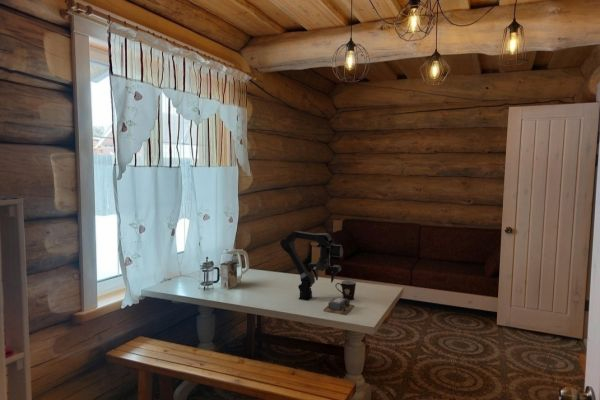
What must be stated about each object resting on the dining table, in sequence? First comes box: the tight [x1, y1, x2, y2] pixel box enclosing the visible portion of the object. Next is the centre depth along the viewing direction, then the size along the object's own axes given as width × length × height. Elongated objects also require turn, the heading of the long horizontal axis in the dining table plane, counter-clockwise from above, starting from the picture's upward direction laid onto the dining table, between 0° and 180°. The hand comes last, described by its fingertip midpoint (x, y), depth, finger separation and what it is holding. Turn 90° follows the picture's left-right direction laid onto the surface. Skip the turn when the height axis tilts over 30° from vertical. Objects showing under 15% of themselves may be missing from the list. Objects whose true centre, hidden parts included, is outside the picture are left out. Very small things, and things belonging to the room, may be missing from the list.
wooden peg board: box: [323, 298, 355, 316], centre depth 225 cm, size 13×14×4 cm
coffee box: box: [220, 260, 238, 290], centre depth 264 cm, size 9×6×16 cm
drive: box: [329, 296, 349, 311], centre depth 225 cm, size 6×10×4 cm, turn 148°
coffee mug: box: [335, 279, 357, 301], centre depth 243 cm, size 12×9×10 cm
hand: (324, 281), depth 237 cm, fingers open, 9 cm apart
